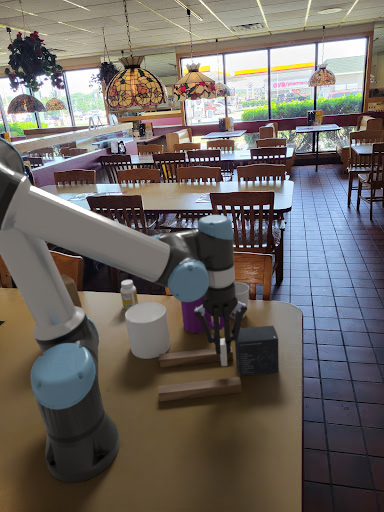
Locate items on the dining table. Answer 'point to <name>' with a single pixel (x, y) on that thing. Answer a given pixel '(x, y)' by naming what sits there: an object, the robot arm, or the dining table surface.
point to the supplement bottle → (128, 294)
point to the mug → (192, 321)
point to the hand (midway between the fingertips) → (223, 362)
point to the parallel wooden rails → (202, 386)
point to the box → (257, 351)
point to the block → (72, 290)
